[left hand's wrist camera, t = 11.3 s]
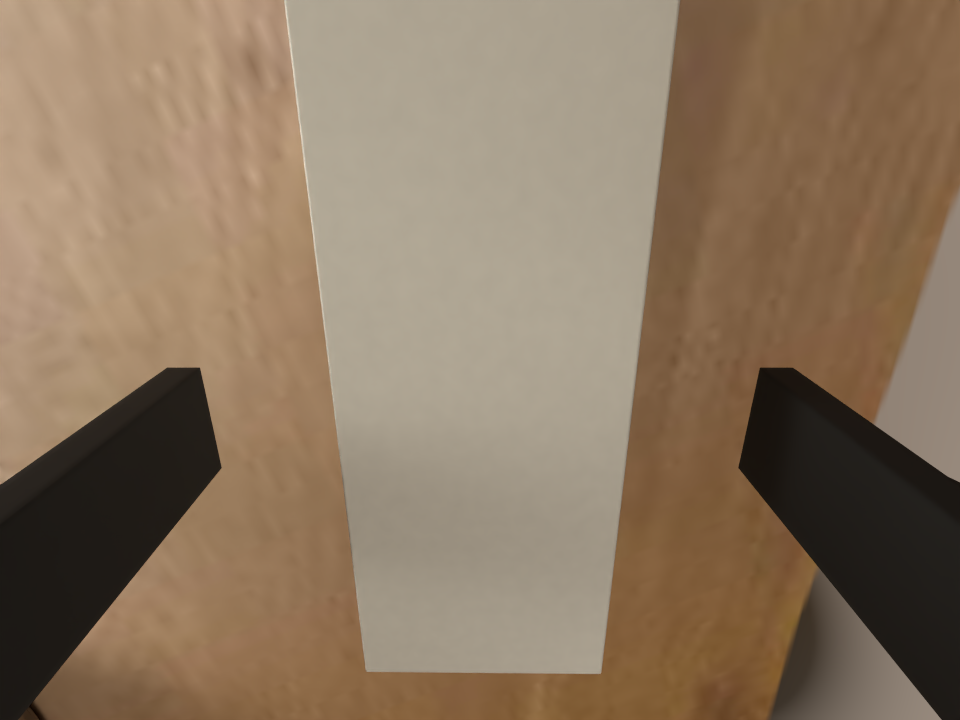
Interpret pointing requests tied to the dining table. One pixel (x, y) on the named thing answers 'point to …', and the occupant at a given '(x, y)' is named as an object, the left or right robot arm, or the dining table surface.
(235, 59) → the dining table surface
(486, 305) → the bar
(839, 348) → the dining table surface
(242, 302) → the dining table surface
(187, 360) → the dining table surface
